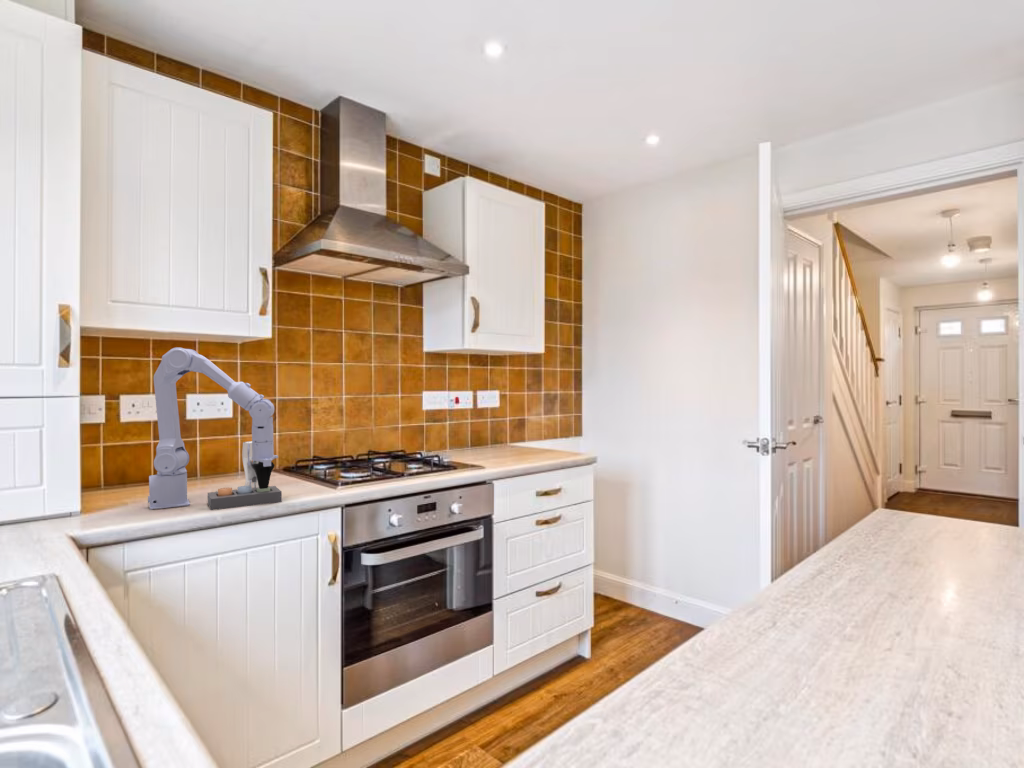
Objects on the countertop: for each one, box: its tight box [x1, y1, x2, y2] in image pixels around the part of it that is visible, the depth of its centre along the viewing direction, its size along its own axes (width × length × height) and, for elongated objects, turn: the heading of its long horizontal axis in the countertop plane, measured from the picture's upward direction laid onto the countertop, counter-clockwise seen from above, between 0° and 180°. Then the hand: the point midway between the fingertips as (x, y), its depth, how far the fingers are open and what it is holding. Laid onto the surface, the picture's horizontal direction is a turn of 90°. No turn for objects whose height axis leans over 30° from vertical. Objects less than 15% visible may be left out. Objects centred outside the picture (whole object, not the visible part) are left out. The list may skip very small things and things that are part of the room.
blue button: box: [237, 485, 252, 494], centre depth 166 cm, size 4×4×3 cm
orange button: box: [217, 487, 233, 496], centre depth 163 cm, size 4×4×3 cm
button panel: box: [207, 485, 283, 511], centre depth 166 cm, size 18×10×3 cm, turn 122°
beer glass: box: [241, 440, 259, 488], centre depth 186 cm, size 7×7×15 cm
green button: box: [257, 486, 270, 492], centre depth 168 cm, size 4×4×3 cm
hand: (263, 488), depth 168 cm, fingers closed, pressing on green button
